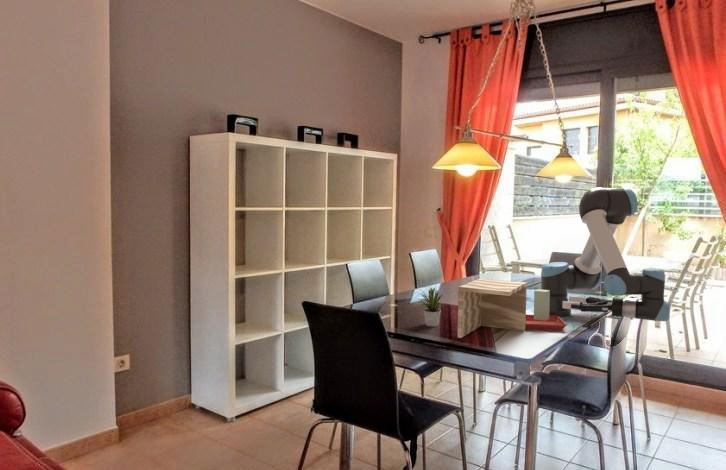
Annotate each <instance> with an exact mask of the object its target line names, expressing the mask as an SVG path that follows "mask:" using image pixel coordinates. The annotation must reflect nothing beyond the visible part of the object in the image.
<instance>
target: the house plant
mask: <svg viewBox="0 0 726 470" xmlns="http://www.w3.org/2000/svg"><path fill="white" fill-rule="evenodd" d="M417 294H418V293H417ZM418 295H420V296H423V299H419V298H418V300H420V301H418V303H421V307H423V306H424V307H425V309H423V313H424V314H423V315H424V321H425V322H424V323H425V326H427V327H438V326H439V322H440V317H441V309H439V308H440V307H443V305H441V302H443V300H441V301H440V299H441V297H442V296H444V293H442V294H441V295H439V290H437V289H436V287H434V288H432V287H431V286H430V288H429V289H428V296H427V295H426V293H425V291H423V290H422V289H420V293H419V294H418ZM418 303H417V304H418Z"/></svg>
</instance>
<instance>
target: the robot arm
mask: <svg viewBox="0 0 726 470" xmlns="http://www.w3.org/2000/svg"><path fill="white" fill-rule="evenodd" d="M638 204H639V203H638V198H637V195H636V193H635V192H634V191H633V190H632V189H630V188H624V187H594V188H591V189H589V190H587V191H586V192H585V193H584V194H583V195H582V196H581V199H580V202H579V205H578V212H579V217H580V219H581V222H582V223H583V224H585V225H586V227H587V229H588V232H589V236H588V239H587V241H586V243H585V245H584V248H583V250H582V253H581V255H580V256H579V257H576V259H574V262H573V264H572V265H571V264H570V265H569V263H568V262H565V261H555V262H547V263H545V264H543V265H542V267H541V272H540V277H541V278H540V290H550V306H549V316H559V317H569V316H571V315H572V310H574V311H575V310H576V311H580V312H583V313H584V312H587V313H588V312H589V313H591V312H592V313H593V312H594V313H609V311H610V312H611V316H612V317H616V318H623V317H624V318H625V319H626V318H627V319H629V320H631V321H632V320H634V319H635V320H644V321H654V322H668V321H669V320H670V313H671V312H670V309H671V304H670V302H669V301H665V285H666V274H665V271H664V270H663V269H660V268H643V269H642V270H641V271H642V272H641V274H630V271H629V269H628V267H627V264H626V262H625V260H624V258H623V255H622V254H621V250H620V248H619V247H618V243H617V241H616V240H615V236H614V235H615V233H616V230H617V228H618V227H619V225H622V224H624V223H625V220H626V219H627V217H631V216H634V215H635V214H636V212H637V209H638ZM601 263H602V266H603V269H604V271H605V274H606V277H605V278H604V280H603V270H602V269H601V265H600V264H601ZM602 281H603V284H604V285H603V286H604V287H603V288H604V290H605V292H606V293H607V294H608V295H611V296H614V297H612V300H611V299H604V298H599V297H592V296H587V297H584V296H574V295H569V296H568V291H591V290H596V289H598V287H600V285H601V284H602ZM631 295H632V296H633V295H634V296H635V295H637V296H638V295H639V296H640V297H641V299H640V298H629V297H625V299H624V298H623V297H621V296H631ZM617 296H618V297H617ZM619 296H620V297H619Z"/></svg>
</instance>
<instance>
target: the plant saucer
mask: <svg viewBox="0 0 726 470" xmlns="http://www.w3.org/2000/svg"><path fill="white" fill-rule="evenodd" d="M566 327H567V324H566V323H565V322H564V320H563V319H562V318H561V316H549V319H548V320H546V321H543V320H535V319H534V314H526V329H525V330H529V331H530V330H531V331H555V332H556V331H557V332H559V331H560V332H561V331H563V330H564V329H565V328H566Z"/></svg>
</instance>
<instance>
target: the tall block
mask: <svg viewBox="0 0 726 470" xmlns="http://www.w3.org/2000/svg"><path fill="white" fill-rule="evenodd" d="M533 293H534V294H533V298H534V299H533V315H534V319H535V320H543V321H546V320H548V319H549V306H550V290H541V288H540V289H539V288H538V289H534V290H533Z"/></svg>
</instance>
